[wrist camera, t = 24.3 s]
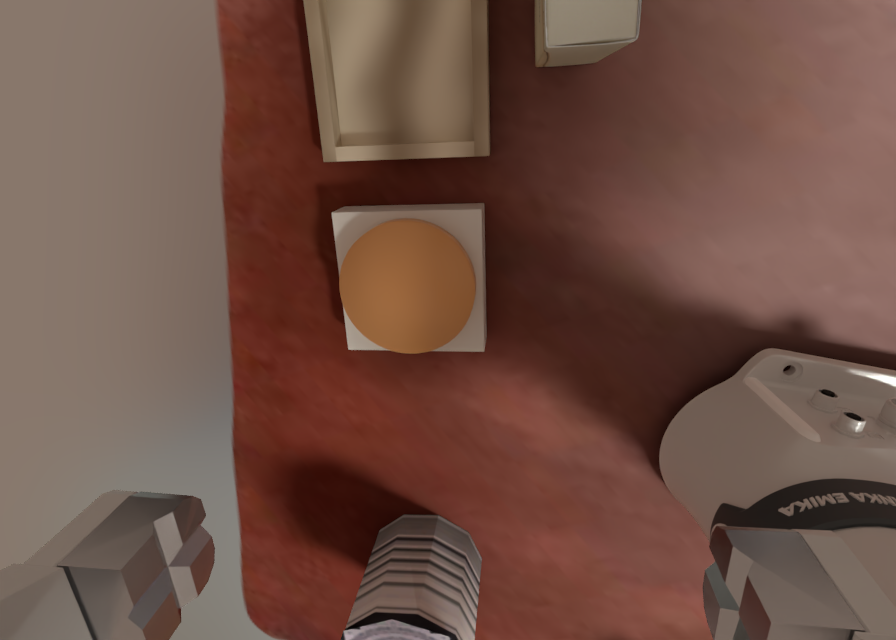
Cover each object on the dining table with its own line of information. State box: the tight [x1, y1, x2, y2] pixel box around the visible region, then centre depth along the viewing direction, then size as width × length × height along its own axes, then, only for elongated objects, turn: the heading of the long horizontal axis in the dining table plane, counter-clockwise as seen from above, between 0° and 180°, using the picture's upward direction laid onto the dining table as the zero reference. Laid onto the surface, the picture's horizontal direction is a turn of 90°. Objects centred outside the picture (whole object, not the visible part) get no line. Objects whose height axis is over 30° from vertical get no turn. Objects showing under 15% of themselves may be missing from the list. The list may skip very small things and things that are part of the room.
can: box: [341, 514, 482, 640], centre depth 47 cm, size 11×11×12 cm
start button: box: [339, 218, 476, 354], centre depth 38 cm, size 10×10×2 cm
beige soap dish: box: [303, 0, 490, 162], centre depth 35 cm, size 12×12×2 cm
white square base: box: [332, 203, 487, 352], centre depth 40 cm, size 11×11×3 cm
